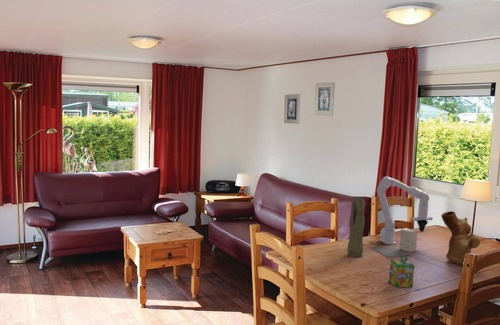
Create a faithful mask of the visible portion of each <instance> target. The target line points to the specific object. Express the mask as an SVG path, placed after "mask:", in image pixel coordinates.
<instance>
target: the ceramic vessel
mask: <svg viewBox="0 0 500 325" xmlns="http://www.w3.org/2000/svg"><path fill="white" fill-rule="evenodd" d="M440 216H441V218H442V221H443V223H444V225H446V227H447V228H448V229H449V230H450V232H451V236H450V238H449V241H448V251H447V253H446V255H445V257H446V259H447V260H448V262H450V263H452V264H456V265H458V266H459V265H460V266H464V265H463V262H464V258H465V254H466V253H472V251H471V249H476V248H478V247H479V246H480V245H481V239H480V238H479V237H478V236H477V235H475V234H474V233H473V232H472V226H471V225H470V224H469V223H468V218H467V217H464V219H463V218H458V217H457V215H456V212H455V211H452V210H451V211H446V212H443V213H441V215H440ZM469 234H470V235H469Z"/></svg>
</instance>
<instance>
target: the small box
mask: <svg viewBox="0 0 500 325" xmlns="http://www.w3.org/2000/svg"><path fill="white" fill-rule="evenodd" d="M399 235H400V236H399V238H400V239H399V250H401V251H404V252H405V251H407V252H410V253H412V252H415V251H417V239H418V238H417V237H418V230H416V229H411V228H408V227H405V228H400V234H399Z"/></svg>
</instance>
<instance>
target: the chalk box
mask: <svg viewBox="0 0 500 325" xmlns="http://www.w3.org/2000/svg"><path fill="white" fill-rule="evenodd" d="M407 258H408V257H407V256H404V255H402V256H401V258H400V259H392V258H391V259H390V264H389V273H388V274H389V275H388V281H389V282H390V283H391V285H393V286H394V287H395V288H413V287H414V275H415V264H414V263H413V262H411V261H410V260H408V259H407Z"/></svg>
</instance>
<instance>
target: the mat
mask: <svg viewBox="0 0 500 325" xmlns="http://www.w3.org/2000/svg"><path fill="white" fill-rule="evenodd" d="M368 248H369V249H371V250H373V251H375V252H378V253H379V254H380V255H382V256H385V257H387V258H396V257H402V255H404V256H406V257H407V256H411V254H409V253H408V252H405V251H404V250H401V249H400V248H396V247H394V246H393V245H379V246H368Z"/></svg>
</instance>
